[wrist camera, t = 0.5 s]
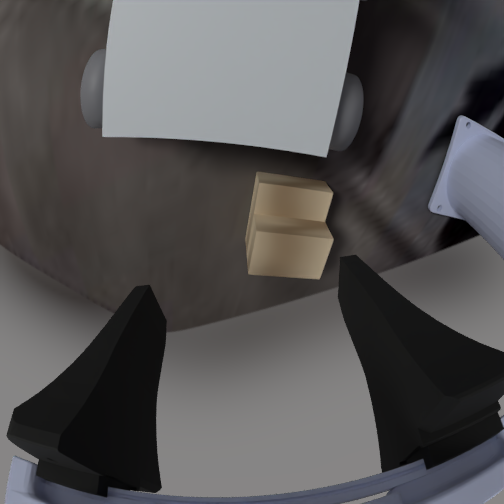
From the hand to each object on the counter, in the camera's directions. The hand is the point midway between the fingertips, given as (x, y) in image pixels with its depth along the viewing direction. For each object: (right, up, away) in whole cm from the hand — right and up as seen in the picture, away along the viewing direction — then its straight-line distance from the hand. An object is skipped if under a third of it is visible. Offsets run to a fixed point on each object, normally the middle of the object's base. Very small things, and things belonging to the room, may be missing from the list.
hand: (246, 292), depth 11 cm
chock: (+2, +4, +9) cm, 10 cm away
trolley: (-1, +14, +1) cm, 14 cm away
